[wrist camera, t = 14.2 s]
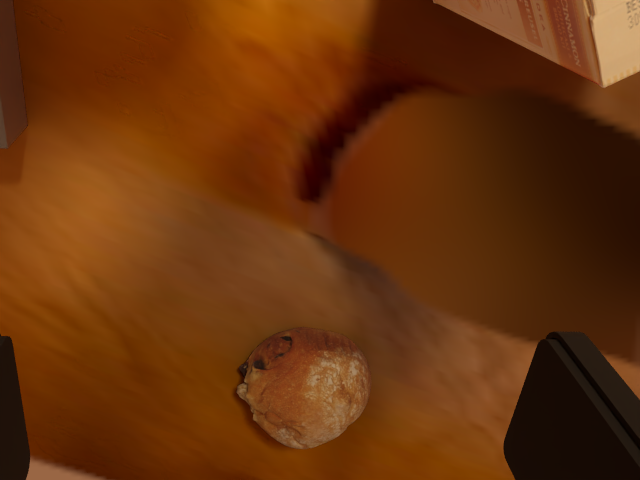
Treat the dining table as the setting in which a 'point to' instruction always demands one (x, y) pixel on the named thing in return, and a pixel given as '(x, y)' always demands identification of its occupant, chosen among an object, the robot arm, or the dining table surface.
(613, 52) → the coffeecake box
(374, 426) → the dining table surface
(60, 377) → the dining table surface
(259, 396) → the bread roll
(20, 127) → the plinth
